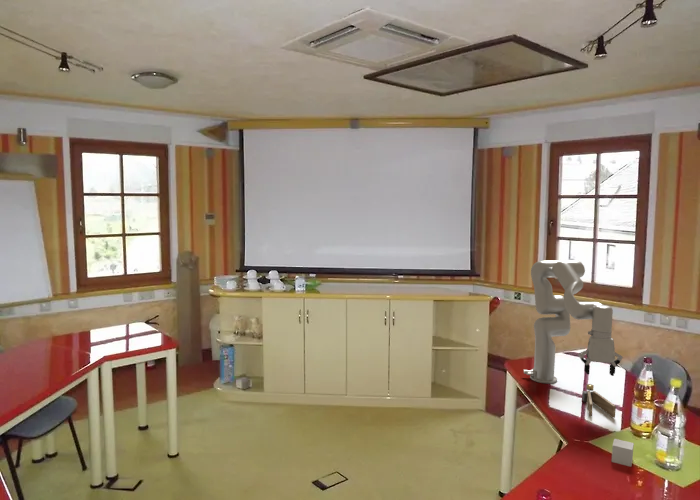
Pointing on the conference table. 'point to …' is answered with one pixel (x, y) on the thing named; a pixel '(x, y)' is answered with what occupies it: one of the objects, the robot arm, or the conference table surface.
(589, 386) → the lock button
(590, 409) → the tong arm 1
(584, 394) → the tong hinge
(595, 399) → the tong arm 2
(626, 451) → the grey cube
